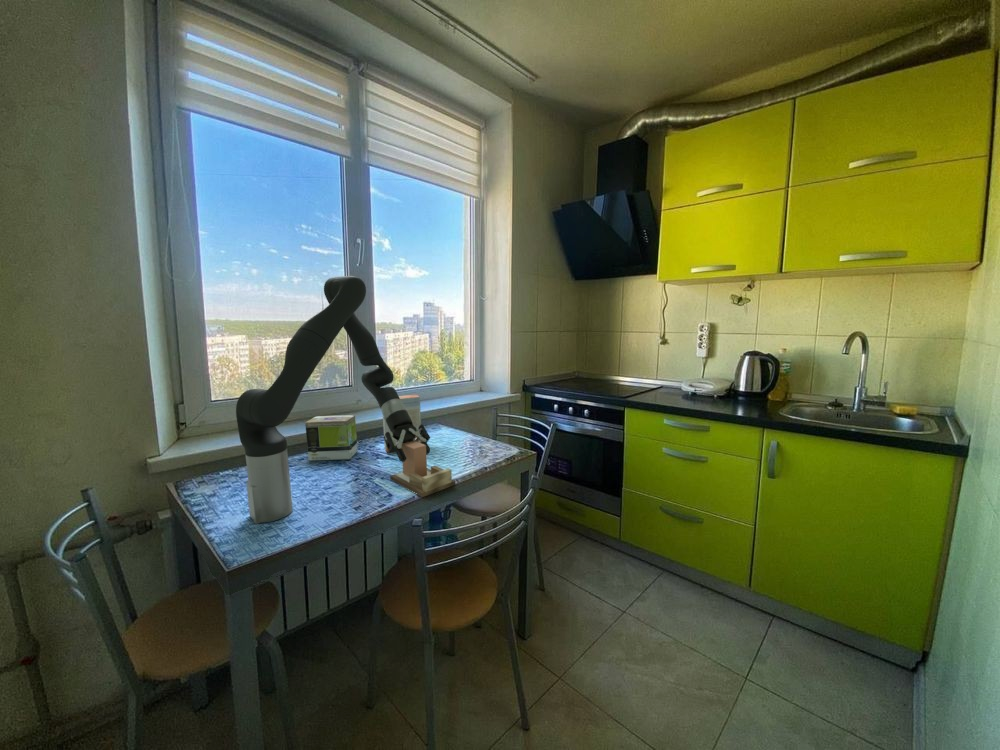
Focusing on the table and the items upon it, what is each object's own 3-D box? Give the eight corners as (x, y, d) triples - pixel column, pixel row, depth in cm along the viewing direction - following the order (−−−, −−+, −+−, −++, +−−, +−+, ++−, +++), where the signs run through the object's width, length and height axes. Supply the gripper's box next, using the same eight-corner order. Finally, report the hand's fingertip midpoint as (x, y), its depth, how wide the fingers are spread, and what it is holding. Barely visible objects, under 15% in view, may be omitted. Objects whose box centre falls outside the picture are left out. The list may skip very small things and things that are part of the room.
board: (422, 497, 110) (421, 480, 109) (390, 479, 123) (389, 463, 122) (455, 484, 118) (454, 468, 118) (422, 469, 131) (421, 454, 130)
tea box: (358, 451, 150) (355, 414, 148) (349, 460, 140) (347, 420, 138) (318, 452, 149) (315, 414, 147) (307, 461, 139) (304, 421, 137)
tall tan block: (414, 479, 119) (413, 448, 118) (402, 473, 124) (401, 443, 123) (427, 475, 122) (426, 445, 121) (414, 469, 127) (413, 440, 126)
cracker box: (419, 443, 158) (417, 393, 155) (422, 448, 153) (420, 396, 150) (383, 448, 153) (381, 396, 150) (386, 453, 147) (383, 399, 144)
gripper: (380, 412, 121) (400, 456, 114) (418, 405, 131) (439, 445, 124) (372, 426, 125) (392, 469, 119) (410, 418, 135) (430, 457, 129)
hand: (416, 457), depth 121 cm, fingers open, 8 cm apart
